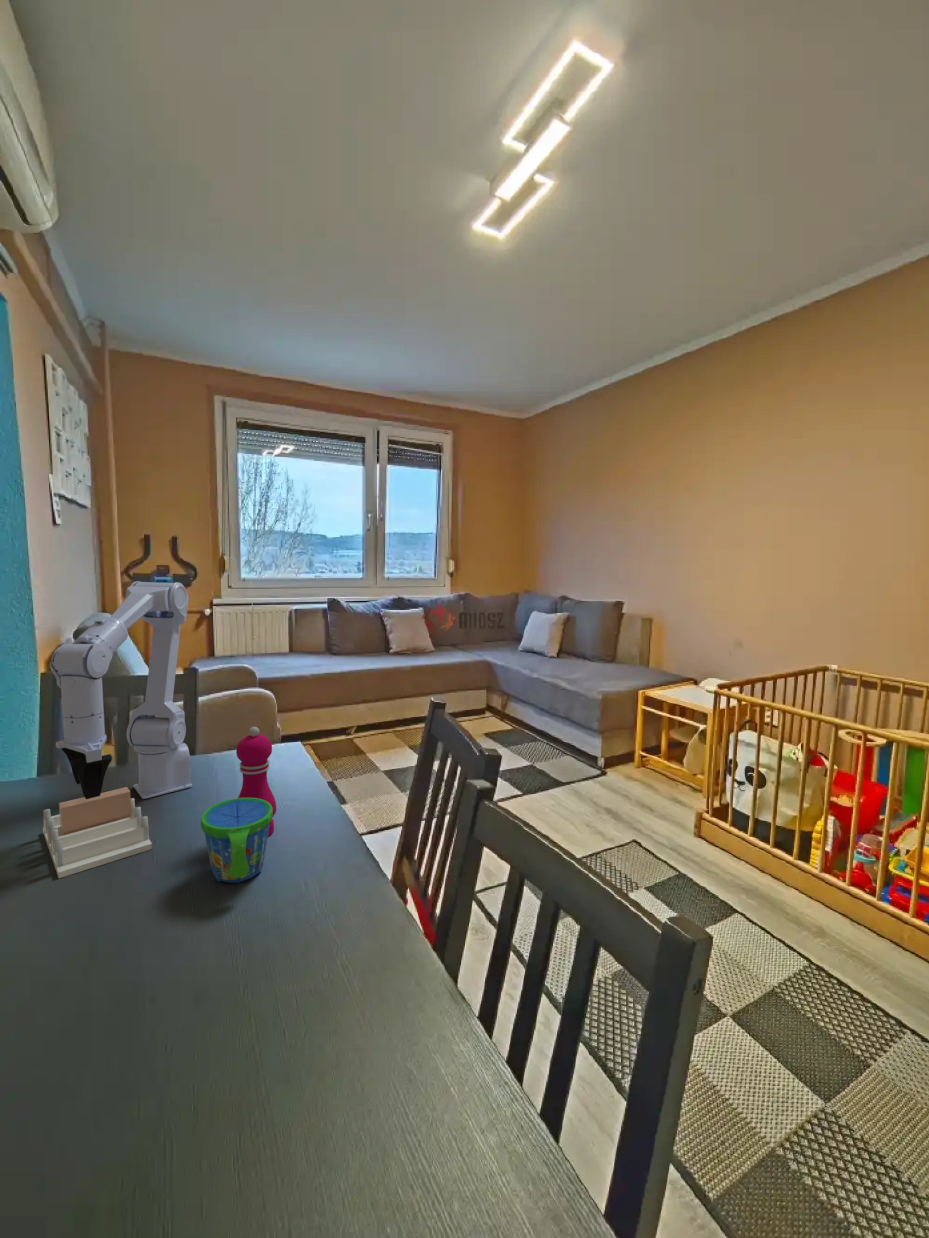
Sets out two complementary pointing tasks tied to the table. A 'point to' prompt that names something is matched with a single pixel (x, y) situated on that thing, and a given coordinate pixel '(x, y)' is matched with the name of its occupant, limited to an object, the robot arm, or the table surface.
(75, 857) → the dish rack
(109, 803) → the tile
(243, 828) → the snack cup
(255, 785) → the pepper mill
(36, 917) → the table surface
